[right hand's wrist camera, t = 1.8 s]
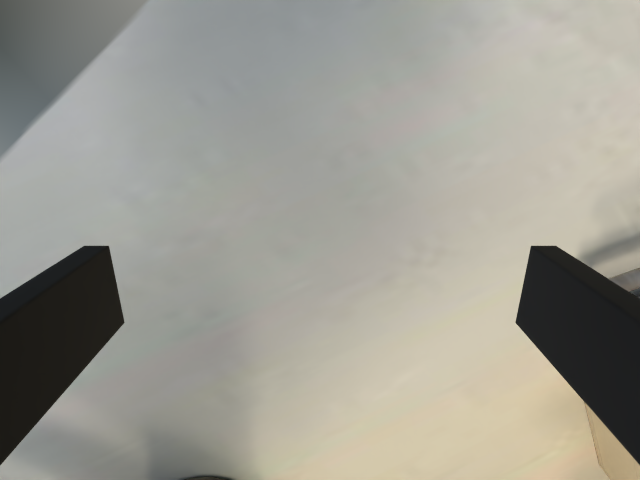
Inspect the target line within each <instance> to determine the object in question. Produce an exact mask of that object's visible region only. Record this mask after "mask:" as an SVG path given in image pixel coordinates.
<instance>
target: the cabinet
mask: <svg viewBox="0 0 640 480" xmlns="http://www.w3.org/2000/svg"><path fill="white" fill-rule="evenodd" d="M585 406H586V410H587V414H588V419H589V423H590V427H591V431H592V435H593V440H594V444H595V448H596V452H597V456H598V460H599V465H600V467H601V468H602V469H603V470H604V471H605V473H606V474H607V476H608V477H609V478H610V480H640V465H639V464H638V463H637V462H636V460H635V459H634V458H633V457H632V456H631V455H630V453H629V452H628V451H627V450H626V449H625V448H624V447H623V445H622V444H621V443H620V442H619V441H618V440H617V439H616V437H615V436H614V435H613V434H612V433H611V432H610V430H609V429H608V428H607V427H606V426H605V425H604V424H603V422H602V421H601V420H600V419H599V418H598V417H597V416H596V414H595V413H594V412H593V411H592V410H591V409H590V408H589V406H588V405H587V404H586V403H585Z"/></svg>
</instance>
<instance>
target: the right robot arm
mask: <svg viewBox="0 0 640 480" xmlns="http://www.w3.org/2000/svg"><path fill="white" fill-rule="evenodd" d="M123 324H124V318H123V313H122V308H121V303H120V299H119V294H118V289H117V284H116V279H115V274H114V269H113V264H112V259H111V254H110V249H109V246H83V247H82V248H80V249H78V250H77V251H75V252H74V253H72V254H71V255H69V256H67V257H66V258H64V259H63V260H61V261H59V262H58V263H56V264H55V265H53V266H51V267H50V268H48V269H47V270H45V271H43V272H42V273H40V274H39V275H37V276H36V277H34V278H32V279H31V280H29V281H28V282H26V283H24V284H23V285H21V286H20V287H18V288H16V289H15V290H13V291H12V292H10V293H8V294H7V295H5V296H4V297H2V298H0V465H1V464H2V463H3V462H4V460H5V459H6V458H7V457H8V456H9V455H10V453H11V452H12V451H13V450H14V449H15V448H16V447H17V445H18V444H19V443H20V442H21V441H22V440H23V439H24V437H25V436H26V435H27V434H28V433H29V432H30V430H31V429H32V428H33V427H34V426H35V425H36V424H37V422H38V421H39V420H40V419H41V418H42V417H43V416H44V414H45V413H46V412H47V411H48V410H49V409H50V408H51V406H52V405H53V404H54V403H55V402H56V401H57V399H58V398H59V397H60V396H61V395H62V394H63V393H64V391H65V390H66V389H67V388H68V387H69V386H70V385H71V383H72V382H73V381H74V380H75V379H76V378H77V376H78V375H79V374H80V373H81V372H82V371H83V370H84V368H85V367H86V366H87V365H88V364H89V363H90V362H91V360H92V359H93V358H94V357H95V356H96V355H97V353H98V352H99V351H100V350H101V349H102V348H103V347H104V345H105V344H106V343H107V342H108V341H109V340H110V339H111V337H112V336H113V335H114V334H115V333H116V332H117V331H118V329H119V328H120V327H121V326H122V325H123ZM516 324H517V325H518V326H519V327H520V328H521V329H522V331H523V332H524V333H525V334H526V335H527V336H528V337H529V339H530V340H531V341H532V342H533V343H534V344H535V345H536V347H537V348H538V349H539V350H540V351H541V352H542V353H543V355H544V356H545V357H546V358H547V359H548V360H549V362H550V363H551V364H552V365H553V366H554V367H555V368H556V370H557V371H558V372H559V373H560V374H561V375H562V376H563V378H564V379H565V380H566V381H567V382H568V383H569V385H570V386H571V387H572V388H573V389H574V390H575V391H576V393H577V394H578V395H579V396H580V397H581V398H582V399H583V401H584V402H585V403H586V404H587V405H588V406H589V408H590V409H591V410H592V411H593V412H594V413H595V414H596V416H597V417H598V418H599V419H600V420H601V421H602V422H603V424H604V425H605V426H606V427H607V428H608V429H609V430H610V432H611V433H612V434H613V435H614V436H615V437H616V439H617V440H618V441H619V442H620V443H621V444H622V445H623V447H624V448H625V449H626V450H627V451H628V452H629V453H630V455H631V456H632V457H633V458H634V459H635V460H636V462H637V463H638V464H639V465H640V298H638V297H636V296H635V295H633V294H632V293H630V292H628V291H627V290H625V289H624V288H622V287H620V286H619V285H617V284H616V283H614V282H612V281H611V280H609V279H608V278H606V277H604V276H603V275H601V274H600V273H598V272H597V271H595V270H593V269H592V268H590V267H589V266H587V265H585V264H584V263H582V262H581V261H579V260H577V259H576V258H574V257H573V256H571V255H569V254H568V253H566V252H565V251H563V250H562V249H560V248H558V247H557V246H531V249H530V254H529V259H528V264H527V269H526V274H525V279H524V284H523V289H522V294H521V299H520V303H519V308H518V313H517V318H516ZM185 480H225V479H220V478H213V477H197V478H190V479H185Z"/></svg>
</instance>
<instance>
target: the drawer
mask: <svg viewBox="0 0 640 480" xmlns="http://www.w3.org/2000/svg"><path fill="white" fill-rule="evenodd" d="M609 280H611V281H612V282H614V283H616V284H617V285H619V286H620V287H622V288H624V289H625V290H627V291H628V292H629V291H632V290H635V289H638V288H640V268H638V269H635V270H632V271H629V272H626V273H623V274H620V275H618V276H615V277H612V278H609ZM638 298H640V296H639V297H638Z"/></svg>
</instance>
